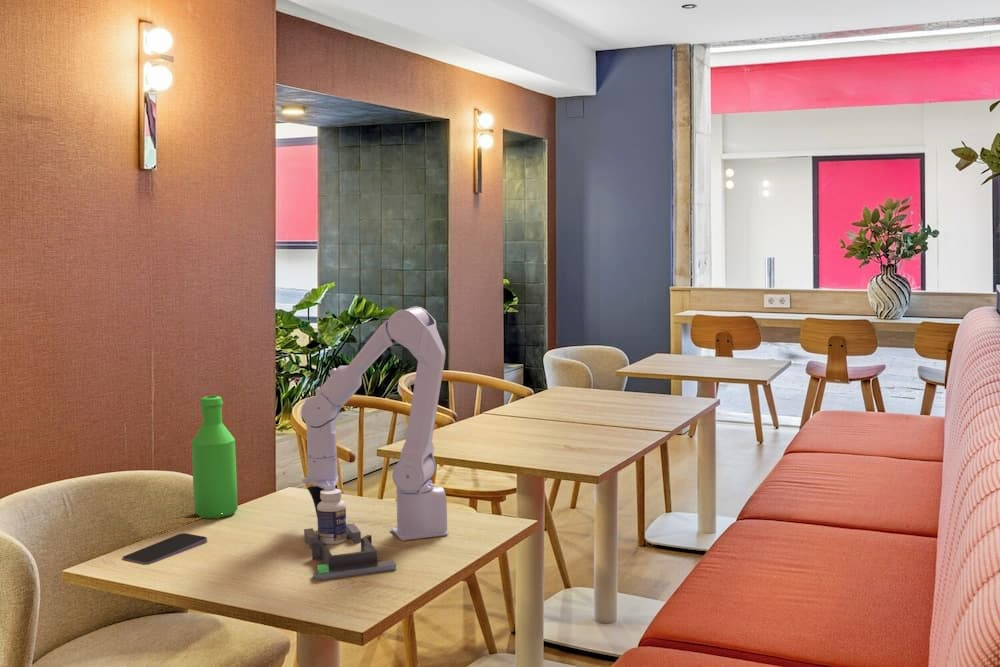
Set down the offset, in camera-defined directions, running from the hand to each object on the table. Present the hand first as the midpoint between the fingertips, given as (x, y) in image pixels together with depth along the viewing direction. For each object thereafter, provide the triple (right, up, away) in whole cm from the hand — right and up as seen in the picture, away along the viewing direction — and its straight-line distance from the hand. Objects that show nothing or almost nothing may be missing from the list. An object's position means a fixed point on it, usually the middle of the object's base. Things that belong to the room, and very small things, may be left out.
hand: (324, 522), depth 195 cm
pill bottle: (+3, -2, -7) cm, 8 cm away
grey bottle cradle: (+8, -3, -20) cm, 22 cm away
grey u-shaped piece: (+3, -2, -7) cm, 8 cm away
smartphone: (-28, -4, -11) cm, 30 cm away
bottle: (-25, -1, +12) cm, 28 cm away
